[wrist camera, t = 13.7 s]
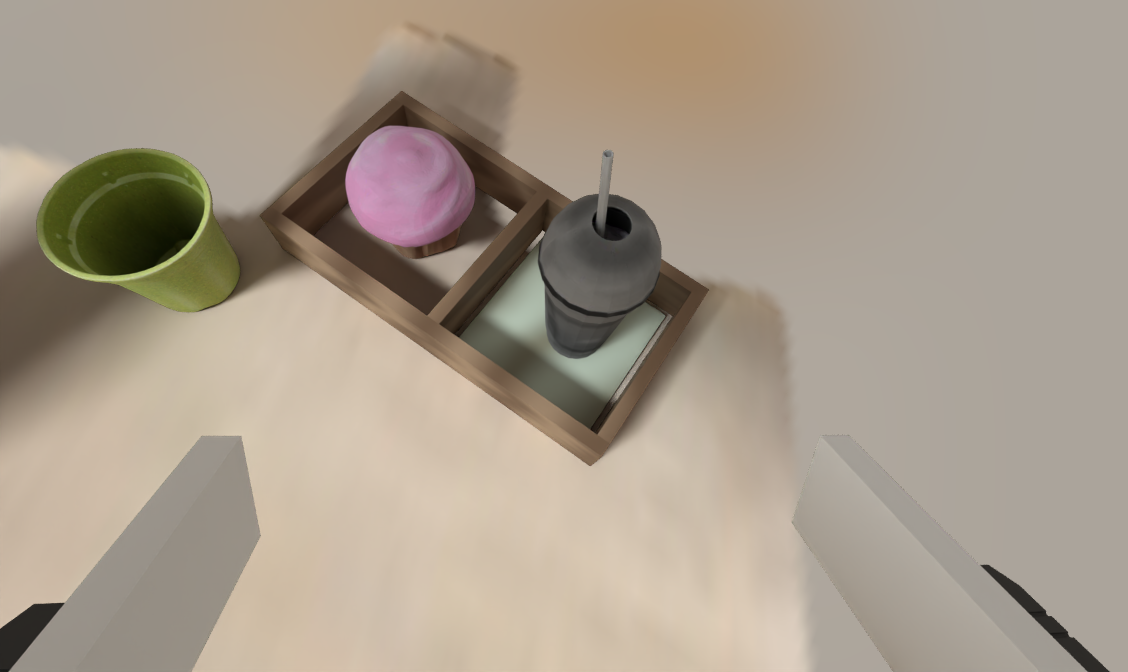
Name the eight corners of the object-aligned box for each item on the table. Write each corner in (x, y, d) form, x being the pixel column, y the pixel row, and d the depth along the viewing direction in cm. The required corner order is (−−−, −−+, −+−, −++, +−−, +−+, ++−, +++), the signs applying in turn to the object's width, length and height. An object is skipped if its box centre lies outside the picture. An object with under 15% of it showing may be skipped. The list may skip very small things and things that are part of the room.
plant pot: (228, 350, 39) (161, 299, 31) (100, 314, 39) (-1, 254, 31) (285, 242, 43) (238, 171, 35) (167, 209, 43) (93, 130, 35)
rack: (282, 248, 43) (259, 215, 38) (409, 130, 48) (401, 90, 44) (590, 466, 39) (602, 456, 35) (689, 313, 45) (709, 289, 41)
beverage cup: (592, 394, 41) (667, 268, 23) (510, 344, 42) (517, 183, 23) (637, 319, 44) (737, 151, 25) (559, 273, 44) (600, 77, 26)
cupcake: (495, 253, 45) (497, 176, 36) (398, 302, 42) (372, 233, 33) (442, 173, 47) (429, 81, 38) (346, 215, 44) (307, 128, 35)
